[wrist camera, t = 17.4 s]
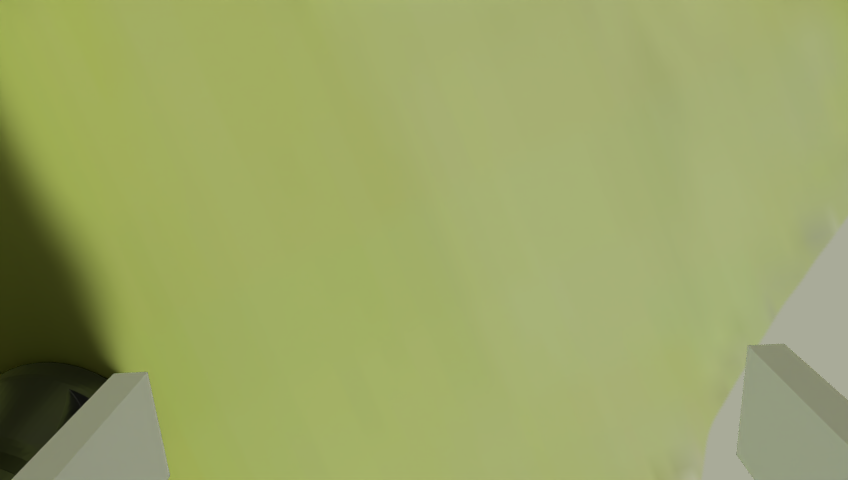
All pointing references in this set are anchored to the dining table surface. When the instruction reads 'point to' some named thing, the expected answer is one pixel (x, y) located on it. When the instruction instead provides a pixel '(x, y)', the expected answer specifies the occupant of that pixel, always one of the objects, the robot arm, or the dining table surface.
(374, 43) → the dining table surface
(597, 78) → the dining table surface
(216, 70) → the dining table surface
